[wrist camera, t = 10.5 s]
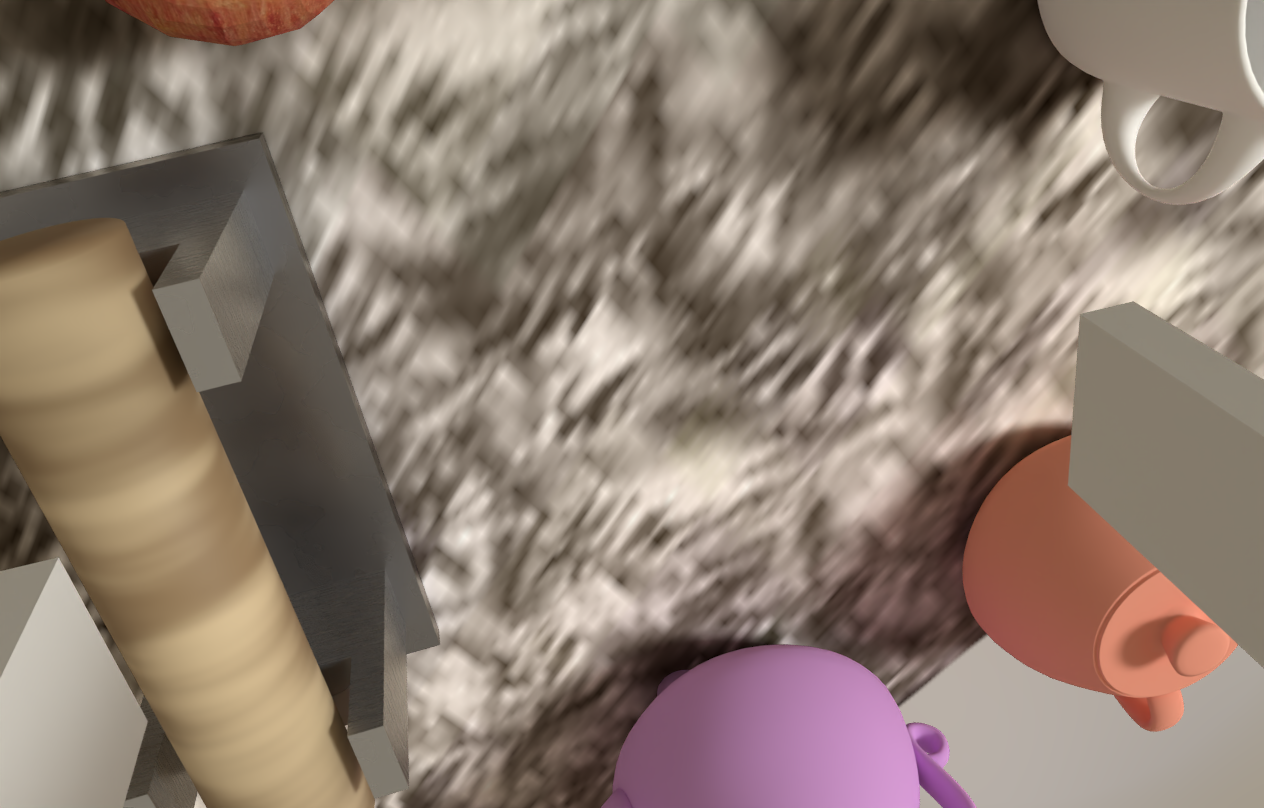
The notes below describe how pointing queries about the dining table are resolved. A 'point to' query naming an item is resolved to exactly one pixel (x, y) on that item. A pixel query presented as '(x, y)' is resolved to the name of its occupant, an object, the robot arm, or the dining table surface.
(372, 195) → the dining table surface
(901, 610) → the dining table surface
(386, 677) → the bracket stand
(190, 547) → the baguette
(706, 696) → the teapot
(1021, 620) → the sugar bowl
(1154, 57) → the mug
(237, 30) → the fruit
